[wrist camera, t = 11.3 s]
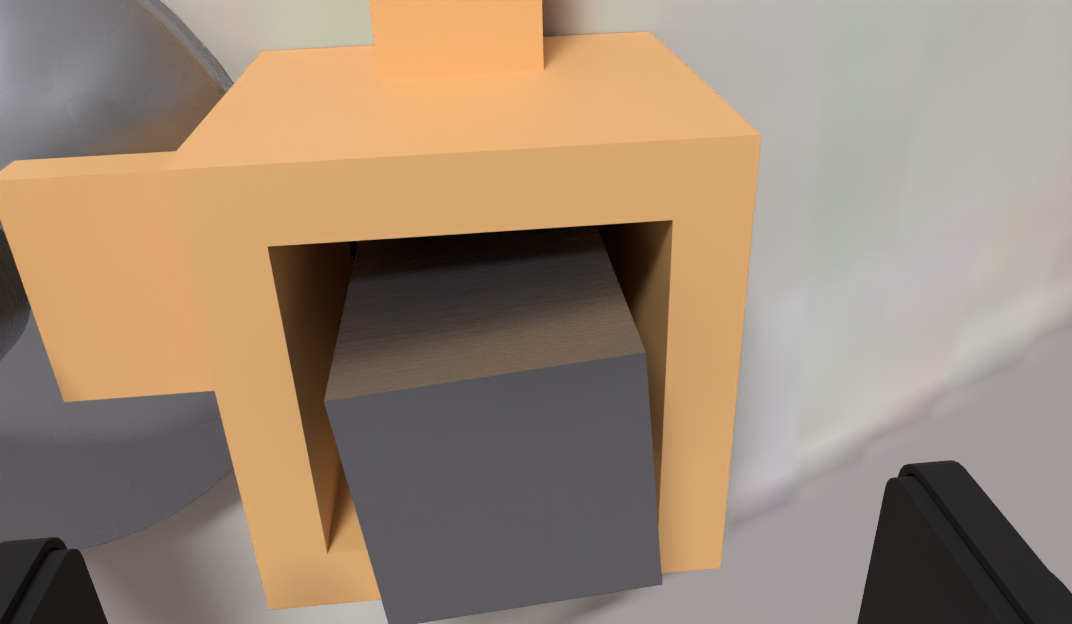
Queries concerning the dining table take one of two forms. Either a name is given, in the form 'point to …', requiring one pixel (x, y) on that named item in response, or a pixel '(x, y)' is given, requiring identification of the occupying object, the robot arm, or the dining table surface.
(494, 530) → the grey long block
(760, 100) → the dining table surface
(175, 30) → the metal disc with post
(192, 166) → the bracket
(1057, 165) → the dining table surface
